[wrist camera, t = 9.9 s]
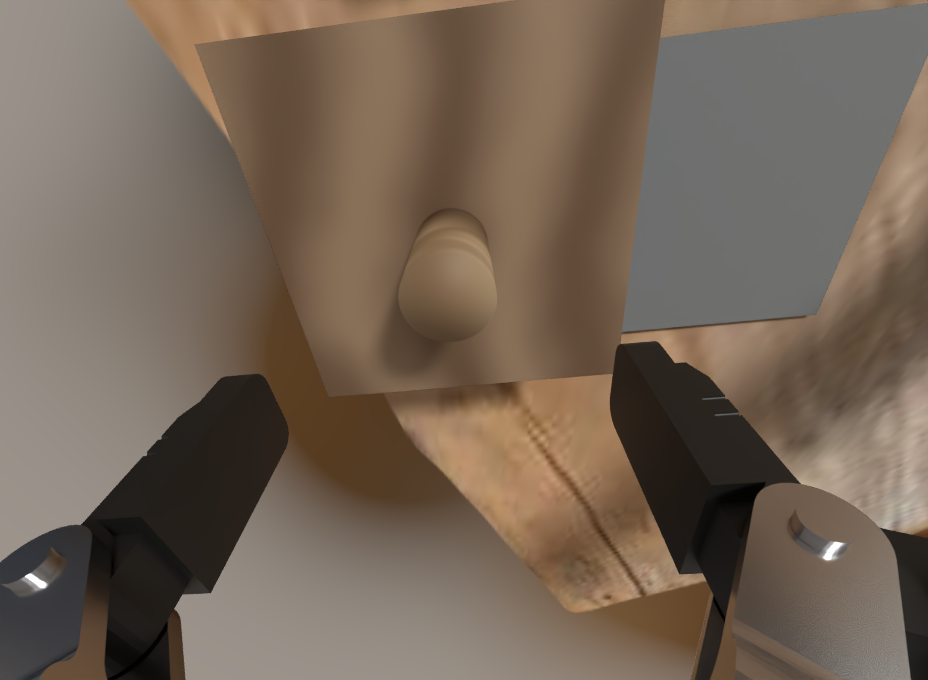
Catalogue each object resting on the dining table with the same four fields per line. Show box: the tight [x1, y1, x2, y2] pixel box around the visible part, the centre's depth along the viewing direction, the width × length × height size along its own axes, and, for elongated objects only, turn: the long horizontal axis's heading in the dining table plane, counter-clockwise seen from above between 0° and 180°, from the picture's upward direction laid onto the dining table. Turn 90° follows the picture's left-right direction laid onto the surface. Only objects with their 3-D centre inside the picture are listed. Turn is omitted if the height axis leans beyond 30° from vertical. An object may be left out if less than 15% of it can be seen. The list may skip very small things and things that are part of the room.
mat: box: [622, 3, 928, 332], centre depth 25 cm, size 18×18×1 cm
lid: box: [195, 0, 665, 397], centre depth 15 cm, size 16×16×7 cm
